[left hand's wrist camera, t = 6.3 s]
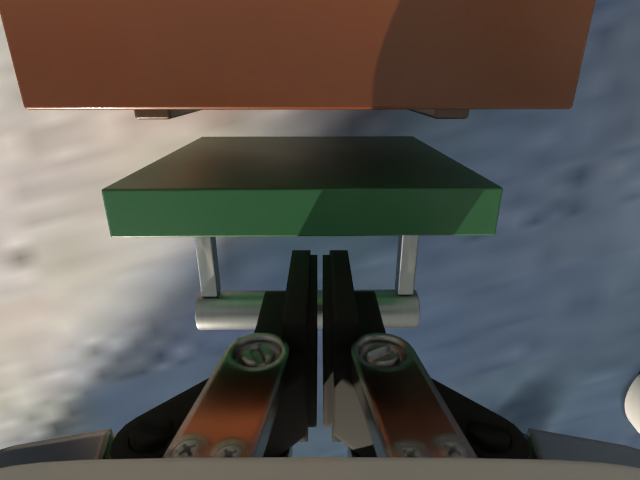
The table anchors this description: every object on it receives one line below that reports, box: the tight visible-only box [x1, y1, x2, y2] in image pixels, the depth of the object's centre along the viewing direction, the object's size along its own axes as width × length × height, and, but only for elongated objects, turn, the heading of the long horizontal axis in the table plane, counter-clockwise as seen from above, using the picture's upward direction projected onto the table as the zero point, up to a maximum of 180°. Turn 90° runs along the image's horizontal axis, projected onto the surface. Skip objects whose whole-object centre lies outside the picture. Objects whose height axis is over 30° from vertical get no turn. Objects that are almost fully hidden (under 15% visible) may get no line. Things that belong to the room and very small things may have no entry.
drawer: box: [102, 109, 503, 330], centre depth 12 cm, size 22×9×9 cm, turn 0°
